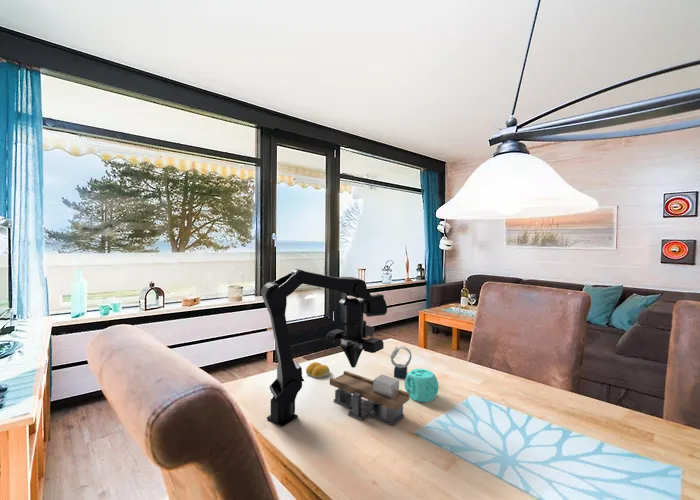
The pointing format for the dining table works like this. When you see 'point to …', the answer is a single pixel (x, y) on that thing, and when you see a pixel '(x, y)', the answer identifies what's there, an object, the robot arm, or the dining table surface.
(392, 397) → the rider
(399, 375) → the watch
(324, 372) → the bread roll
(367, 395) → the beam
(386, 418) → the stand
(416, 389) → the decorative dice
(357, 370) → the dining table surface
